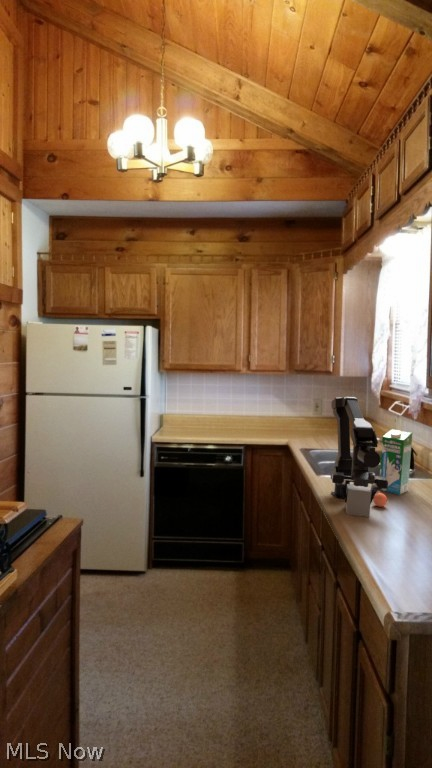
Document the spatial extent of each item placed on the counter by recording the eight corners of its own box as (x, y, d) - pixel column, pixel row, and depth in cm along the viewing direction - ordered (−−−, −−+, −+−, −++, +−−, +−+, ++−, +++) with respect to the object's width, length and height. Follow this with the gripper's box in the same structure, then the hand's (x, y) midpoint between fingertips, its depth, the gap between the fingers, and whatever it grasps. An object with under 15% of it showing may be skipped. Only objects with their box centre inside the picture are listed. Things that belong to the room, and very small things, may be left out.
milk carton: (378, 489, 193) (382, 431, 191) (386, 485, 200) (391, 429, 198) (399, 495, 187) (404, 434, 185) (408, 490, 194) (412, 432, 192)
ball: (370, 503, 174) (371, 491, 174) (382, 504, 175) (383, 491, 174) (376, 508, 169) (377, 495, 169) (389, 508, 170) (390, 495, 169)
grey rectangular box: (345, 507, 169) (347, 483, 168) (367, 509, 167) (369, 486, 167) (346, 514, 161) (348, 489, 161) (369, 516, 160) (371, 492, 159)
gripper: (334, 463, 157) (331, 507, 158) (391, 468, 153) (388, 514, 154) (333, 456, 168) (330, 497, 169) (387, 461, 164) (384, 504, 165)
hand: (357, 503), depth 164 cm, fingers closed on grey rectangular box, 8 cm apart
